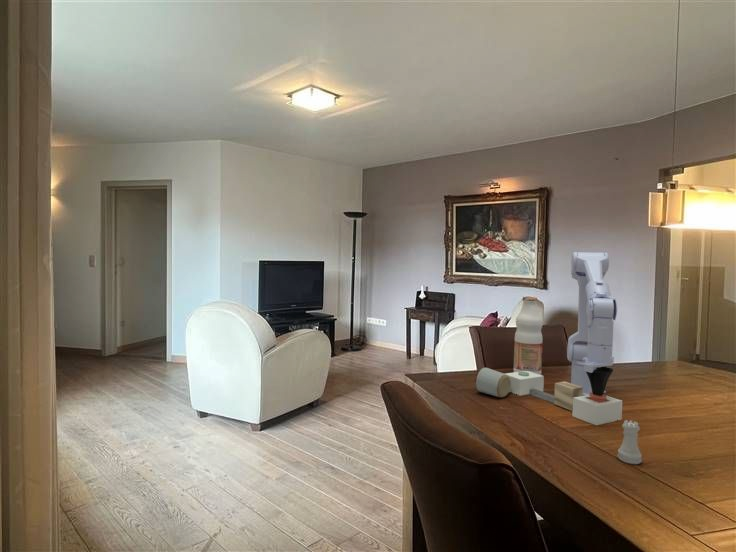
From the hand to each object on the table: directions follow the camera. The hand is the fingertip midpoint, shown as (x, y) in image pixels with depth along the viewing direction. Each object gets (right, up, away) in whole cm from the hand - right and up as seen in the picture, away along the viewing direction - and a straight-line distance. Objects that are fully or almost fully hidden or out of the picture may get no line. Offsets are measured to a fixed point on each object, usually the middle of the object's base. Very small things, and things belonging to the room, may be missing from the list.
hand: (597, 394), depth 115 cm
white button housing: (0, -6, 0) cm, 6 cm away
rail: (-6, -6, +12) cm, 14 cm away
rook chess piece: (-6, -7, -24) cm, 26 cm away
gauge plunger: (0, -4, 0) cm, 4 cm away
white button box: (-11, -5, +23) cm, 26 cm away
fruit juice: (-3, -4, +42) cm, 43 cm away
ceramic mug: (-21, -5, +19) cm, 29 cm away
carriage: (-4, -6, +8) cm, 11 cm away
